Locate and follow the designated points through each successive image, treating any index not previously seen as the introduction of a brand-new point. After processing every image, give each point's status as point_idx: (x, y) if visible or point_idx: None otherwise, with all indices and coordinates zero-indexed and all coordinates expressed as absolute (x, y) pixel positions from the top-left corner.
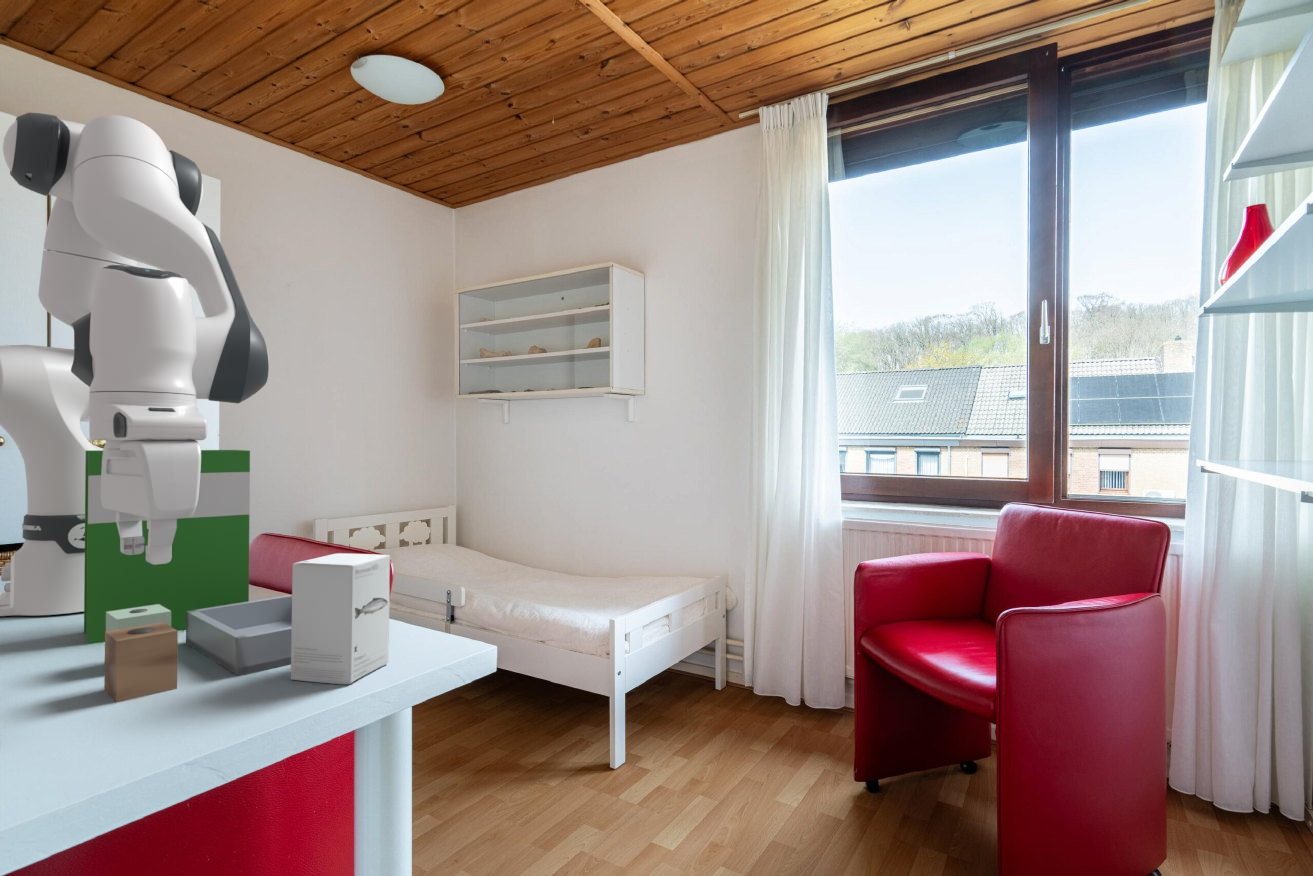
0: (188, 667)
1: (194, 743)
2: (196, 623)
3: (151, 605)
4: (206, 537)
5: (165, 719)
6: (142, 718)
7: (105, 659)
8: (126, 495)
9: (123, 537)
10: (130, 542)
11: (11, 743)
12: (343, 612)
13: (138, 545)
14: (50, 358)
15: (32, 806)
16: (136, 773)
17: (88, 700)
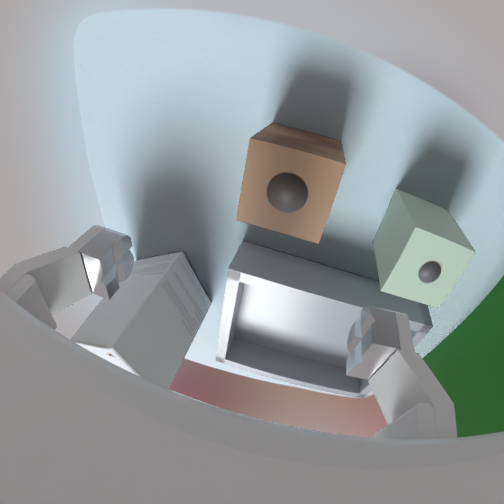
0: (333, 239)
1: (100, 123)
2: (395, 309)
3: (441, 299)
4: (466, 431)
5: (167, 129)
6: (188, 116)
7: (338, 150)
8: (61, 441)
9: (394, 353)
10: (362, 342)
11: (228, 13)
12: (101, 304)
13: (354, 346)
14: None
15: (86, 24)
16: (83, 79)
17: (314, 110)
